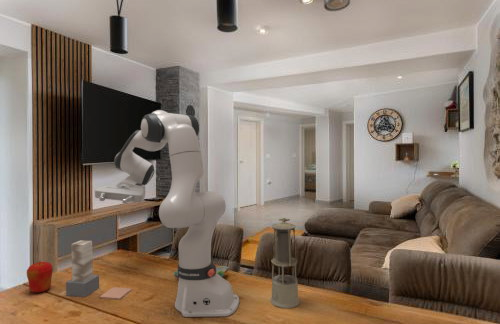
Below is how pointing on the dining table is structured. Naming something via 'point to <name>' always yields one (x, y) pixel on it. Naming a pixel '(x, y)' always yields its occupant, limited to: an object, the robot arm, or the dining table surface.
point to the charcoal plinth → (82, 287)
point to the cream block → (82, 260)
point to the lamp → (283, 284)
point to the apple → (39, 276)
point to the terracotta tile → (116, 293)
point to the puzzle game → (219, 270)
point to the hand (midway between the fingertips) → (112, 200)
